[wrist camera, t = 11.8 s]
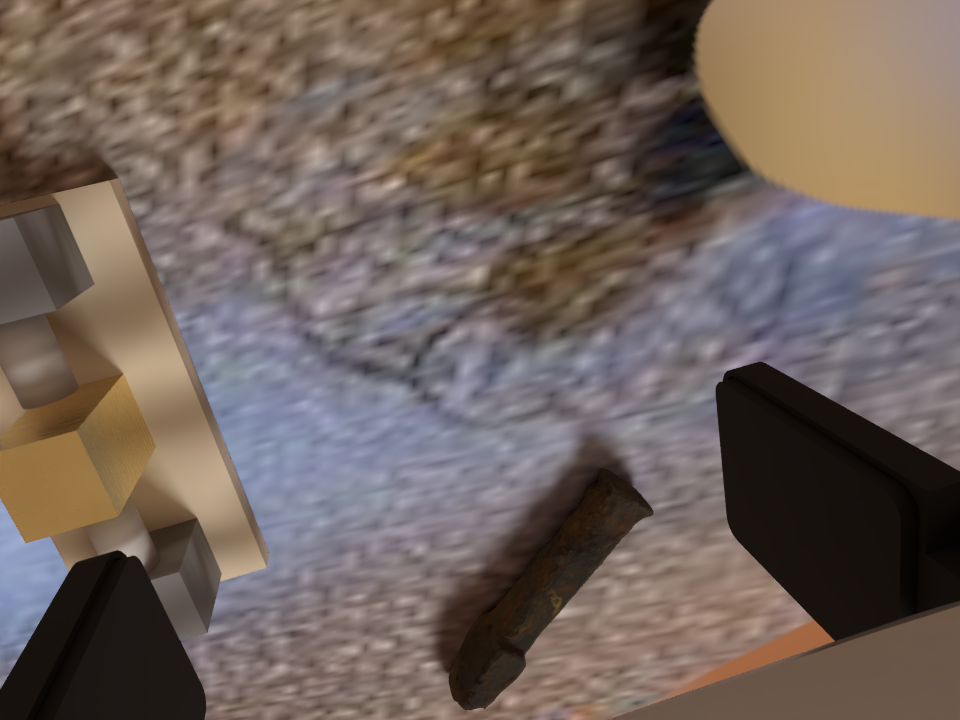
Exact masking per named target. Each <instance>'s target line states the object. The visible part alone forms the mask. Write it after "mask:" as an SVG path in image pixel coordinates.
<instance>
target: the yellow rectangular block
mask: <svg viewBox="0 0 960 720" xmlns="http://www.w3.org/2000/svg"><path fill="white" fill-rule="evenodd" d="M155 448H156V445H155V443H154V440H153V438H152V436H151V434H150V432H149V429H148V427H147V425H146V423H145V420H144V418H143V416H142V414H141V411H140V409H139V407H138V405H137V402H136V400H135V398H134V396H133V393H132V391H131V389H130V387H129V385H128V382H127V380H126V378H125V376H124V374H120V375H116V376H113V377H109V378H105V379H101V380H98V381H94V382H90V383H86V384H82V385H79V389H78V390H77V391H76V392H74V393H73V394H71V395H69V396H68V397H66V398H64V399H61V400H59V401H57V402H54V403H51V404H49V405H45V406H42V407H38V408H33V409H28V410H27V411H26V412H25V413H24V414H23V415H22V416H21V417H20V418H19V419H18V420H17V421H16V422H15V423H13V424H12V425H11V426H10V427H9V428H8V429H7V430H6V431H5V432H4V433H3V434H2V435H1V436H0V498H1V500H2V502H3V504H4V505H5V507H6V509H7V511H8V513H9V514H10V516H11V518H12V520H13V521H14V523H15V525H16V527H17V529H18V530H19V532H20V534H21V536H22V537H23V539H24V541H25V543H28V542H32V541H35V540H38V539H42V538H45V537H49V536H52V535H56V534H59V533H63V532H66V531H70V530H73V529H77V528H80V527H83V526H87V525H90V524H94V523H97V522H101V521H104V520H108V519H111V518H115V517H118V516H119V515H120V513H121V511H122V509H123V507H124V505H125V504H126V502H127V500H128V498H129V496H130V494H131V492H132V491H133V489H134V487H135V485H136V483H137V481H138V480H139V478H140V476H141V474H142V472H143V470H144V468H145V467H146V465H147V463H148V461H149V459H150V457H151V456H152V454H153V452H154V450H155Z"/></svg>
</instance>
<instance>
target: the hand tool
mask: <svg viewBox="0 0 960 720" xmlns="http://www.w3.org/2000/svg"><path fill="white" fill-rule="evenodd" d="M652 515H653V510H652V508H651V507H650V505H649V504H648V503H647V501H646V500H645V499H644V498H643V497H642V495H641V494H640V493H639V492H638V491H637V490H636V489H635V488H633V487H632V486H631V485H630V484H628V483H627V482H626V481H624V480H623V479H622V478H620V477H619V476H617V475H615V474H614V473H612V472H610V471H608V470H605V469H600V470H599V474H598V482H597V484H593V485H590V486H588V487H587V488H586V494H585V498H584V499H583V501H582V502H581V503H580V505H579V506H578V507H577V509H576V510H575V511H574V512H573V513H572V514H571V515H570V516H569V517H568V519H567V520H566V521H565V523H564V524H563V525H562V526H561V528H560V530H559V532H558V533H557V534H556V535H555V536H554V537H553V539H552V540H551V541H550V542H549V543H548V544H547V546H546V547H544V548H542V549H541V550H539V553H538V556H537V557H536V558H535V560H534V561H533V562H532V563H531V565H530V566H529V567H528V568H527V569H526V570H525V572H524V573H523V575H522V576H521V577H520V578H519V580H518V581H517V582H516V583H515V584H514V586H513V587H512V588H511V589H510V590H509V591H508V593H507V594H506V595H505V596H504V597H503V599H502V600H501V601H500V602H499V604H498V605H497V606H496V607H495V609H494V610H493V611H486V612H483V613H482V614H481V615H480V617H479V618H478V619H477V621H476V622H475V624H474V625H473V627H472V628H471V630H470V631H469V633H468V635H467V637H466V639H465V641H464V643H463V645H462V646H461V648H460V650H459V652H458V655H457V657H456V659H455V661H454V664H453V667H452V669H451V671H450V674H449V685H450V689H451V693H452V697H453V699H454V700H455V701H456V702H458V704H459V705H460V706H461V707H462V708H463V709H465V710H473V709H476V708H484V709H485V708H486V707H487V706H488V705H490V704H491V703H492V702H493V701H494V700H495V698H496V697H497V696H498V695H499V694H500V693H501V692H502V691H503V690H504V689H505V688H506V687H508V686H509V685H510V684H511V683H513V682H514V681H515V680H516V679H517V678H518V676H519V675H520V674H521V673H522V671H523V670H524V668H525V666H526V661H525V654H526V652H527V651H528V650H529V649H530V647H531V646H532V645H533V643H534V641H535V640H536V639H537V637H538V636H539V635H540V634H541V632H542V631H543V630H544V629H545V628H546V627H547V626H548V624H549V623H550V622H551V621H552V620H553V619H554V618H555V617H556V616H557V615H558V614H559V612H560V611H561V610H562V609H563V608H564V607H565V605H566V604H567V603H568V601H569V600H570V599H571V598H572V597H573V596H574V595H575V594H576V593H577V591H578V590H579V589H580V588H581V586H583V584H584V583H585V582H586V581H587V580H588V578H589V577H590V576H591V575H592V574H593V573H594V571H595V570H596V569H597V568H598V567H599V566H600V565H601V564H602V563H603V561H604V560H605V559H606V557H607V556H608V555H609V554H610V553H611V551H612V550H613V549H614V548H615V546H616V545H617V544H618V543H619V542H620V541H621V539H622V538H623V537H624V536H625V535H626V534H627V533H629V531H630V530H631V529H632V527H633V526H634V525H635V524H636V523H638V521H640V520H641V519H643V518H645V517H648V516H652Z"/></svg>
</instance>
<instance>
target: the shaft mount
mask: <svg viewBox="0 0 960 720" xmlns="http://www.w3.org/2000/svg"><path fill="white" fill-rule="evenodd" d="M120 374H124V376H125V378H126V380H127V382H128V385H129V387H130V389H131V391H132V393H133V396H134V398H135V400H136V402H137V405H138V407H139V409H140V411H141V414H142V416H143V418H144V420H145V423H146V425H147V427H148V429H149V432H150V434H151V436H152V438H153V440H154V443H155V445H156V448H155V450H154V452H153V454H152V456H151V457H150V459H149V461H148V463H147V465H146V467H145V468H144V470H143V472H142V474H141V476H140V478H139V480H138V481H137V483H136V485H135V487H134V489H133V491H132V492H131V494H130V496H129V498H128V500H127V502H126V504H125V505H124V507H123V509H122V511H121V513H120V515H119V516H118V517H115V518H111V519H108V520H104V521H101V522H97V523H94V524H90V525H87V526H83V527H80V528H77V529H73V530H70V531H66V532H63V533H59V534H56V535H52V536H50V537H51V539H52V541H53V542H54V544H55V546H56V548H57V550H58V552H59V553H60V555H61V557H62V559H63V561H64V563H65V565H66V566H67V568H68V570H69V571H70V570H71V568H72V566H73V565H74V564H75V563H76V562H78V561H82V560H85V559H88V558H92V557H95V556H99V555H102V554H105V553H109V552H112V551H116V550H119V551H122V552H123V553H124V554H125V555H126V556H127V557H129V556H133V555H134V556H137V557H138V558H139V559H140V561H141V562H142V564H143V566H144V568H145V570H146V572H147V574H148V576H149V578H150V580H151V582H152V584H153V586H154V588H155V590H156V593H157V595H158V597H159V599H160V601H161V603H162V605H163V607H164V609H165V611H166V613H167V615H168V617H169V619H170V621H171V623H172V625H173V627H174V629H175V631H176V633H177V635H178V637H179V639H180V641H182V640H186V639H189V638H192V637H195V636H198V635H202V634H205V633H207V632H208V628H209V624H210V620H211V616H212V612H213V608H214V604H215V600H216V595H217V591H218V587H219V583H220V582H221V581H224V580H227V579H230V578H234V577H237V576H240V575H244V574H247V573H250V572H253V571H257V570H260V569H263V568H267V562H268V555H269V552H268V549H267V547H266V544H265V542H264V539H263V537H262V534H261V532H260V529H259V527H258V524H257V522H256V519H255V517H254V514H253V512H252V509H251V507H250V505H249V502H248V500H247V497H246V495H245V492H244V490H243V487H242V485H241V482H240V480H239V477H238V475H237V472H236V470H235V467H234V465H233V462H232V460H231V457H230V455H229V452H228V450H227V447H226V445H225V442H224V440H223V437H222V435H221V432H220V430H219V427H218V425H217V422H216V420H215V417H214V415H213V412H212V410H211V407H210V405H209V402H208V400H207V397H206V395H205V392H204V390H203V387H202V385H201V382H200V380H199V377H198V375H197V372H196V370H195V367H194V365H193V362H192V360H191V357H190V355H189V352H188V350H187V347H186V345H185V343H184V340H183V338H182V335H181V333H180V330H179V328H178V325H177V323H176V320H175V318H174V315H173V313H172V310H171V308H170V305H169V303H168V300H167V298H166V295H165V293H164V290H163V288H162V285H161V283H160V280H159V278H158V275H157V273H156V270H155V268H154V265H153V263H152V260H151V258H150V255H149V253H148V250H147V248H146V245H145V243H144V240H143V238H142V235H141V233H140V230H139V228H138V225H137V223H136V220H135V218H134V215H133V213H132V210H131V208H130V205H129V203H128V200H127V198H126V195H125V193H124V190H123V188H122V185H121V183H120V180H119V178H117V179H113V180H109V181H104V182H100V183H96V184H91V185H87V186H83V187H78V188H74V189H69V190H65V191H61V192H56V193H52V194H48V195H43V196H39V197H35V198H30V199H26V200H22V201H17V202H13V203H9V204H4V205H0V436H1V435H2V434H3V433H4V432H5V431H6V430H7V429H8V428H9V427H10V426H11V425H12V424H13V423H15V422H16V421H17V420H18V419H19V418H20V417H21V416H22V415H23V414H24V413H25V412H26V411H27V410H28V409H33V408H38V407H42V406H45V405H49V404H51V403H54V402H57V401H59V400H61V399H64V398H66V397H68V396H69V395H71V394H73V393H74V392H76V391H77V390H78V389H79V385H82V384H86V383H90V382H94V381H98V380H101V379H105V378H109V377H113V376H116V375H120Z"/></svg>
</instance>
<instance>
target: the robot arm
mask: <svg viewBox="0 0 960 720" xmlns="http://www.w3.org/2000/svg"><path fill="white" fill-rule="evenodd" d="M716 403H717V414H718V425H719V436H720V447H721V458H722V469H723V480H724V491H725V502H726V513H727V520H728V524H729V527H730V529H731V531H732V533H733V535H734V537H735V538H736V539H737V540H738V542H739V543H740V544H741V545H742V546H743V547H744V548H745V549H746V550H747V551H748V552H749V553H750V554H751V555H752V556H753V557H754V558H755V559H756V560H757V561H758V562H759V563H760V564H761V565H762V566H763V567H764V568H765V569H766V570H767V571H768V572H769V573H770V575H771V576H772V577H773V578H774V579H775V580H776V581H777V582H778V583H779V584H780V585H781V586H782V587H783V588H784V589H785V590H786V591H787V592H788V593H789V594H790V595H791V596H792V597H793V598H794V599H795V600H796V601H797V602H798V603H799V604H800V605H801V606H802V607H803V609H804V610H805V611H806V612H807V613H808V614H809V615H810V616H811V617H812V618H813V619H814V620H815V621H816V622H817V623H818V624H819V625H820V626H821V627H822V628H823V629H824V630H825V631H826V632H827V633H828V634H829V635H830V636H831V637H832V638H833V639H834V640H835V642H832V643H829V644H826V645H823V646H820V647H817V648H814V649H811V650H808V651H806V652H802V653H800V654H797V655H794V656H791V657H788V658H785V659H782V660H779V661H777V662H773V663H771V664H768V665H765V666H762V667H759V668H756V669H753V670H750V671H747V672H745V673H741V674H739V675H736V676H733V677H730V678H727V679H724V680H721V681H718V682H715V683H712V684H710V685H707V686H704V687H701V688H698V689H695V690H692V691H689V692H686V693H684V694H680V695H678V696H675V697H672V698H669V699H666V700H663V701H660V702H657V703H654V704H651V705H649V706H646V707H643V708H640V709H637V710H634V711H631V712H629V713H626V714H623V715H620V716H617V717H614V718H611V719H609V720H960V471H958V470H956V469H955V468H953V467H951V466H949V465H947V464H946V463H944V462H942V461H940V460H938V459H937V458H935V457H933V456H931V455H929V454H928V453H926V452H924V451H922V450H920V449H919V448H917V447H915V446H913V445H911V444H910V443H908V442H906V441H904V440H902V439H901V438H899V437H897V436H895V435H893V434H892V433H890V432H888V431H886V430H884V429H883V428H881V427H879V426H877V425H875V424H874V423H872V422H870V421H868V420H866V419H865V418H863V417H861V416H859V415H857V414H856V413H854V412H852V411H850V410H848V409H847V408H845V407H843V406H841V405H839V404H838V403H836V402H834V401H832V400H830V399H829V398H827V397H825V396H823V395H821V394H820V393H818V392H816V391H814V390H812V389H811V388H809V387H807V386H805V385H803V384H802V383H800V382H798V381H796V380H794V379H793V378H791V377H789V376H787V375H785V374H784V373H782V372H780V371H778V370H776V369H775V368H773V367H771V366H769V365H767V364H766V363H763V362H757V363H753V364H750V365H746V366H743V367H740V368H736V369H733V370H729V371H727V372H726V373H725V374H724V378H723V382H719V383H718V384H717V386H716ZM205 713H206V699H205V693H204V689H203V687H202V684H201V682H200V680H199V678H198V676H197V674H196V672H195V670H194V668H193V666H192V664H191V662H190V660H189V658H188V656H187V654H186V652H185V650H184V648H183V646H182V644H181V641H180V639H179V637H178V635H177V633H176V631H175V629H174V627H173V625H172V623H171V621H170V619H169V617H168V615H167V613H166V611H165V609H164V607H163V605H162V603H161V601H160V599H159V597H158V595H157V593H156V590H155V588H154V586H153V584H152V582H151V580H150V578H149V576H148V574H147V572H146V570H145V568H144V566H143V564H142V562H141V561H140V559H139V558H138V557H137V556H134V555H133V556H129V557H127V556H126V555H125V554H124V553H123V552H122V551H119V550H116V551H112V552H109V553H105V554H102V555H99V556H95V557H92V558H88V559H85V560H82V561H78V562H76V563H75V564H74V565H73V566H72V568H71V570H70V571H69V573H68V575H67V576H66V578H65V580H64V582H63V583H62V585H61V587H60V588H59V590H58V592H57V594H56V595H55V597H54V599H53V600H52V602H51V604H50V606H49V607H48V609H47V611H46V612H45V614H44V616H43V618H42V619H41V621H40V623H39V624H38V626H37V628H36V630H35V631H34V633H33V635H32V636H31V638H30V640H29V642H28V643H27V645H26V647H25V648H24V650H23V652H22V654H21V655H20V657H19V659H18V660H17V662H16V664H15V665H14V667H13V669H12V671H11V672H10V674H9V676H8V677H7V679H6V681H5V683H4V684H3V686H2V688H1V689H0V720H204V718H205Z"/></svg>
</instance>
